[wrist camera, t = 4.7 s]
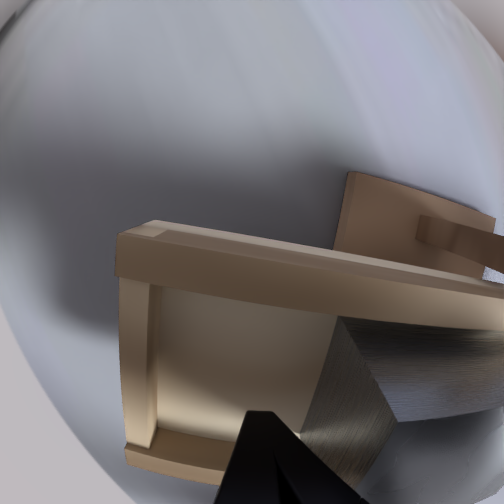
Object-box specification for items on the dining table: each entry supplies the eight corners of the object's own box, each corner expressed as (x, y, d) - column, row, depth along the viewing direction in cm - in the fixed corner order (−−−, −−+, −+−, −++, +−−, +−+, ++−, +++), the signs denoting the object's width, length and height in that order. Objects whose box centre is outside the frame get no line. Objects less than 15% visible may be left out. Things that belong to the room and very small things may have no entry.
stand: (416, 409, 18) (464, 472, 11) (285, 418, 16) (312, 513, 9) (485, 216, 15) (573, 239, 8) (347, 172, 13) (448, 173, 6)
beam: (540, 410, 11) (559, 430, 9) (146, 418, 11) (127, 464, 8) (588, 302, 10) (614, 316, 7) (154, 219, 9) (117, 233, 6)
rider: (451, 425, 9) (495, 493, 5) (299, 433, 9) (313, 539, 5) (499, 327, 8) (573, 384, 4) (338, 314, 8) (398, 422, 4)
